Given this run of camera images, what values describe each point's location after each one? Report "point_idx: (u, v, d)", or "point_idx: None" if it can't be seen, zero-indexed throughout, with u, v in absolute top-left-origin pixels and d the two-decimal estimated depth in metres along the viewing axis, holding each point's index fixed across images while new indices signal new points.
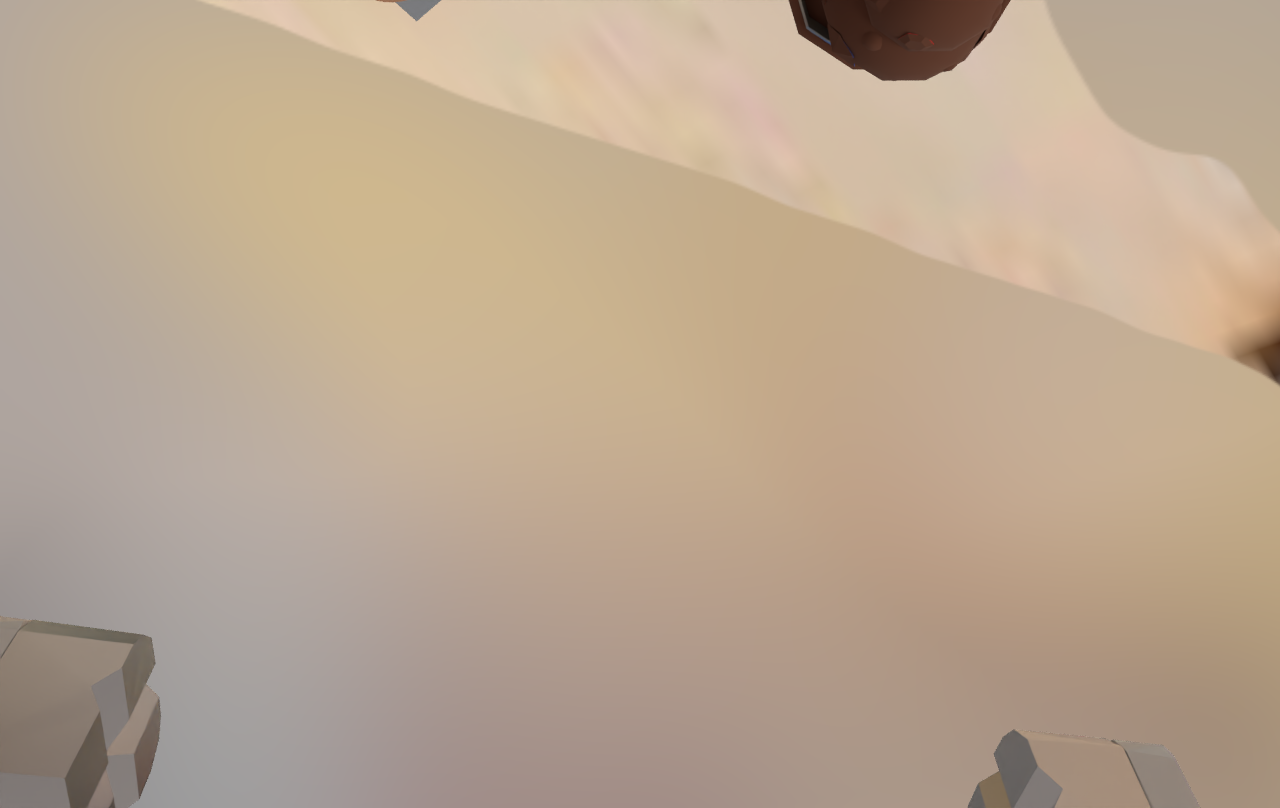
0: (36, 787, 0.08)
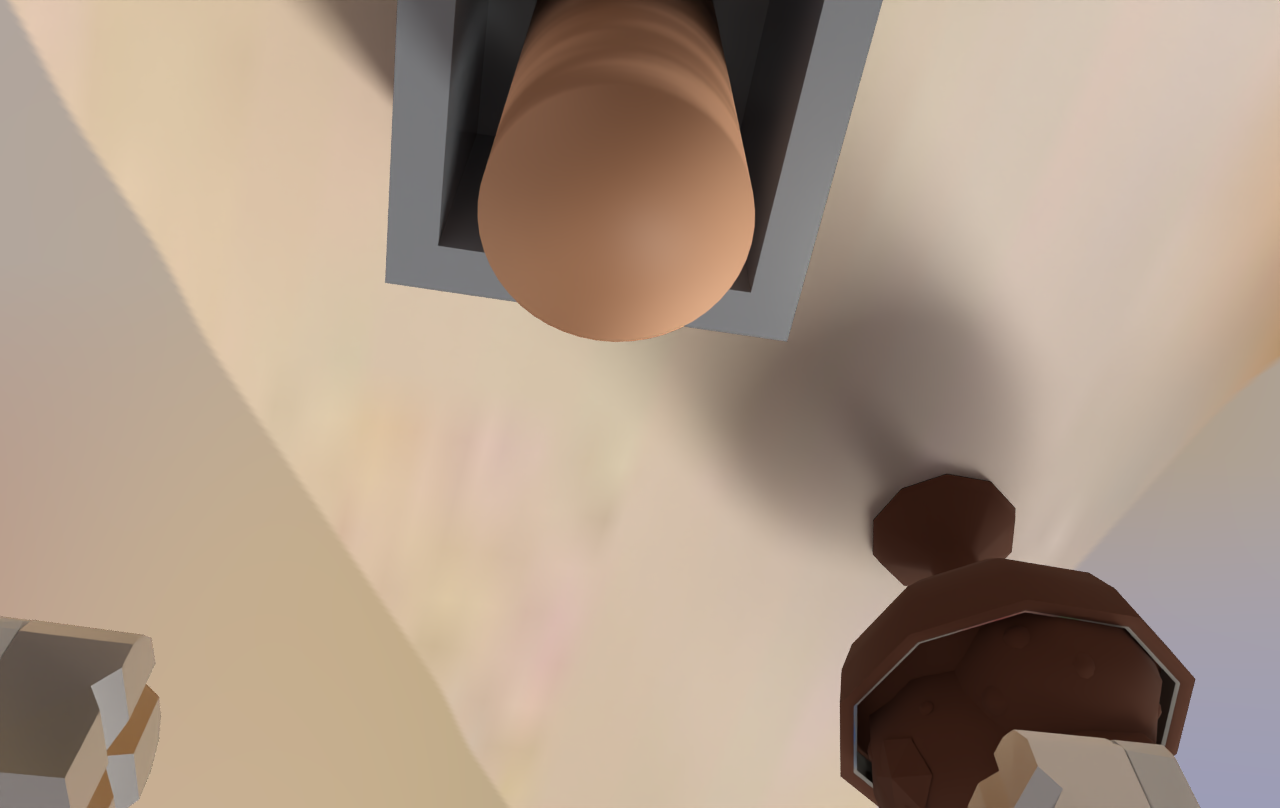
0: (34, 787, 0.08)
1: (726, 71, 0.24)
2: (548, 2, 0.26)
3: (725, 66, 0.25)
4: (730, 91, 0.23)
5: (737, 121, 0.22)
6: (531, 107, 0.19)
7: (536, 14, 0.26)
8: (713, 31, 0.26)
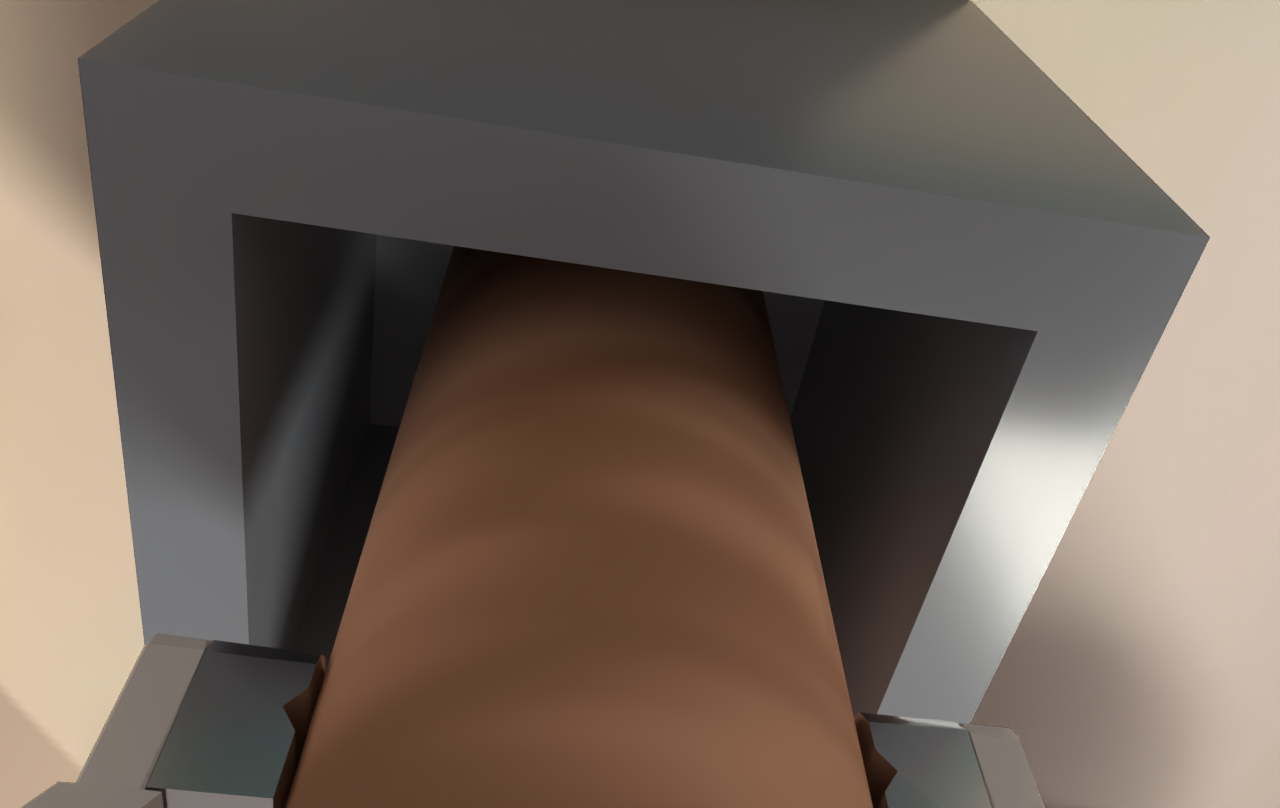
0: (244, 806, 0.08)
1: (803, 491, 0.12)
2: (455, 319, 0.14)
3: (798, 471, 0.12)
4: (821, 579, 0.11)
5: (848, 700, 0.10)
6: None
7: (436, 328, 0.14)
8: (769, 377, 0.13)
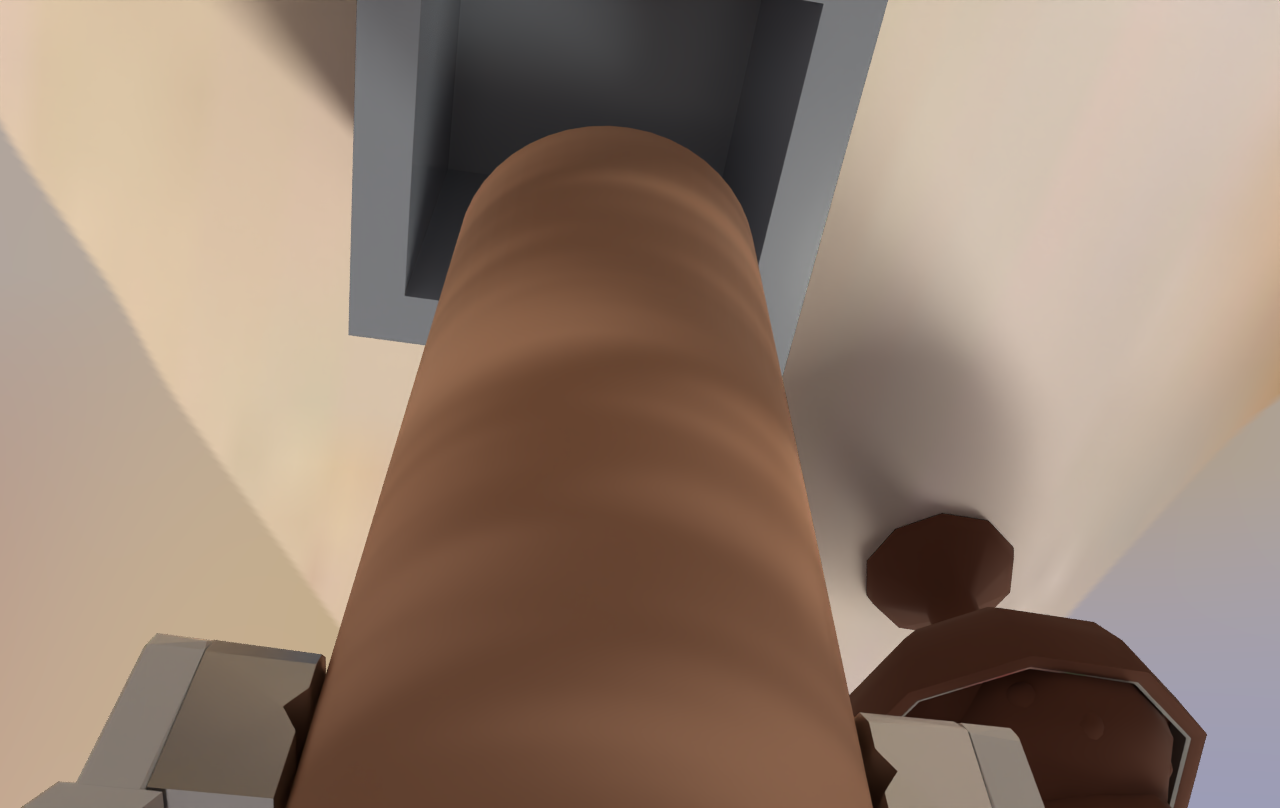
0: (244, 806, 0.08)
1: (803, 490, 0.12)
2: (456, 318, 0.14)
3: (799, 470, 0.12)
4: (821, 578, 0.11)
5: (848, 699, 0.10)
6: None
7: (437, 327, 0.14)
8: (770, 376, 0.13)
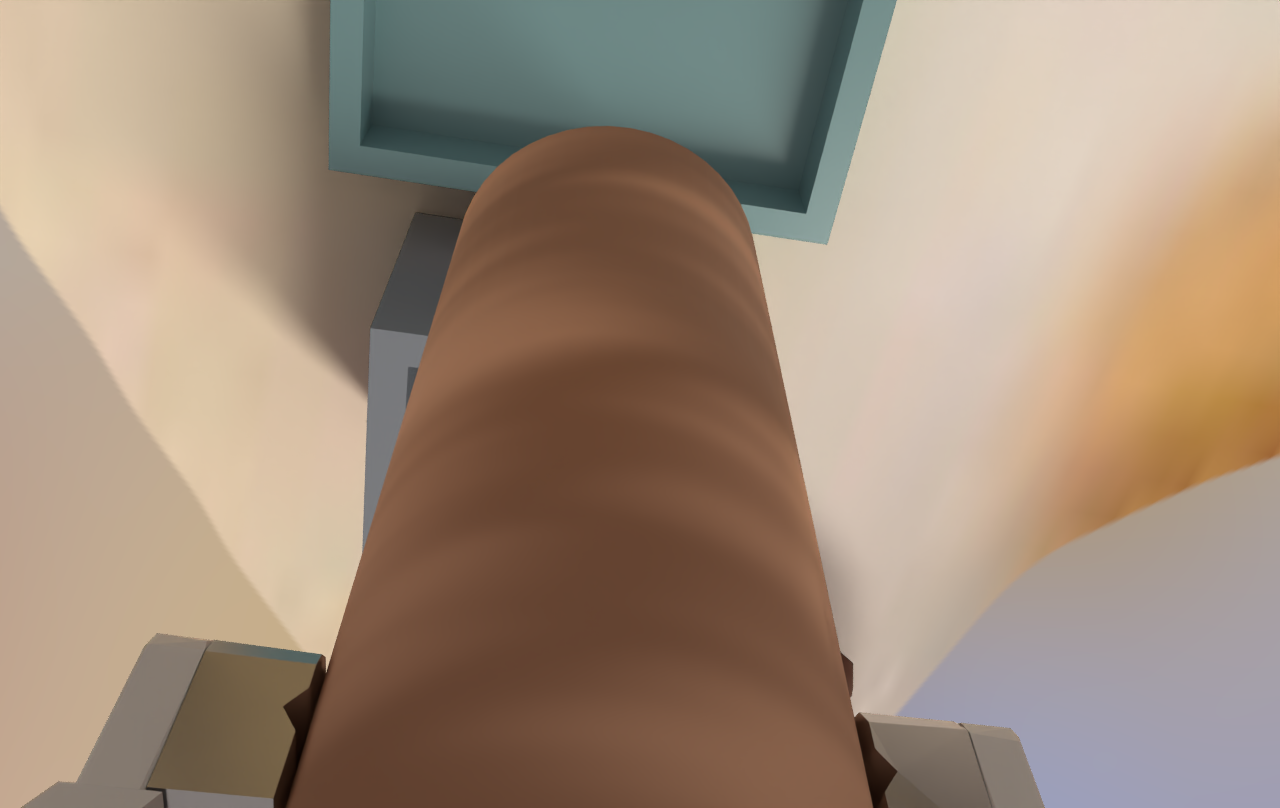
0: (244, 807, 0.08)
1: (804, 492, 0.12)
2: (456, 319, 0.14)
3: (799, 472, 0.12)
4: (822, 580, 0.11)
5: (849, 701, 0.10)
6: None
7: (437, 328, 0.14)
8: (771, 378, 0.13)
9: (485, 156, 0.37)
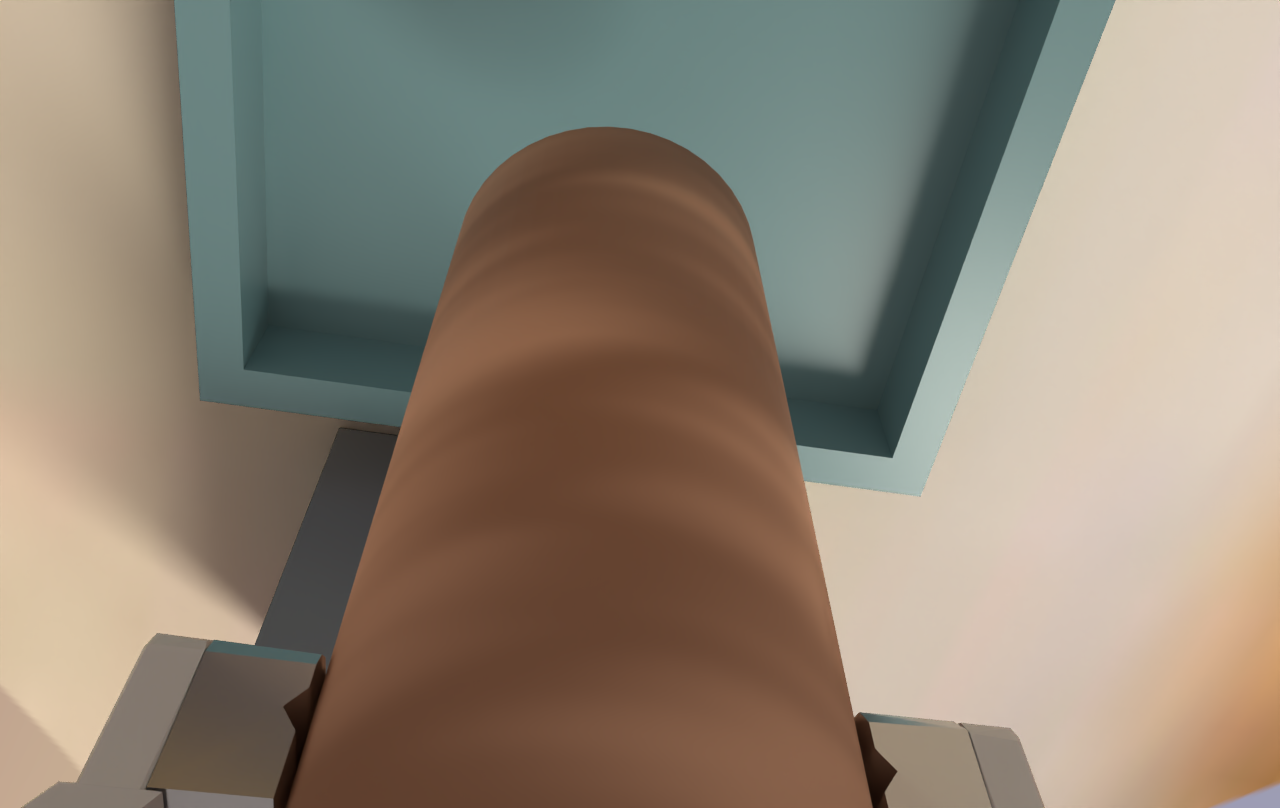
0: (243, 806, 0.08)
1: (804, 492, 0.12)
2: (456, 319, 0.14)
3: (799, 472, 0.12)
4: (822, 580, 0.11)
5: (849, 702, 0.10)
6: None
7: (437, 328, 0.14)
8: (771, 378, 0.13)
9: None
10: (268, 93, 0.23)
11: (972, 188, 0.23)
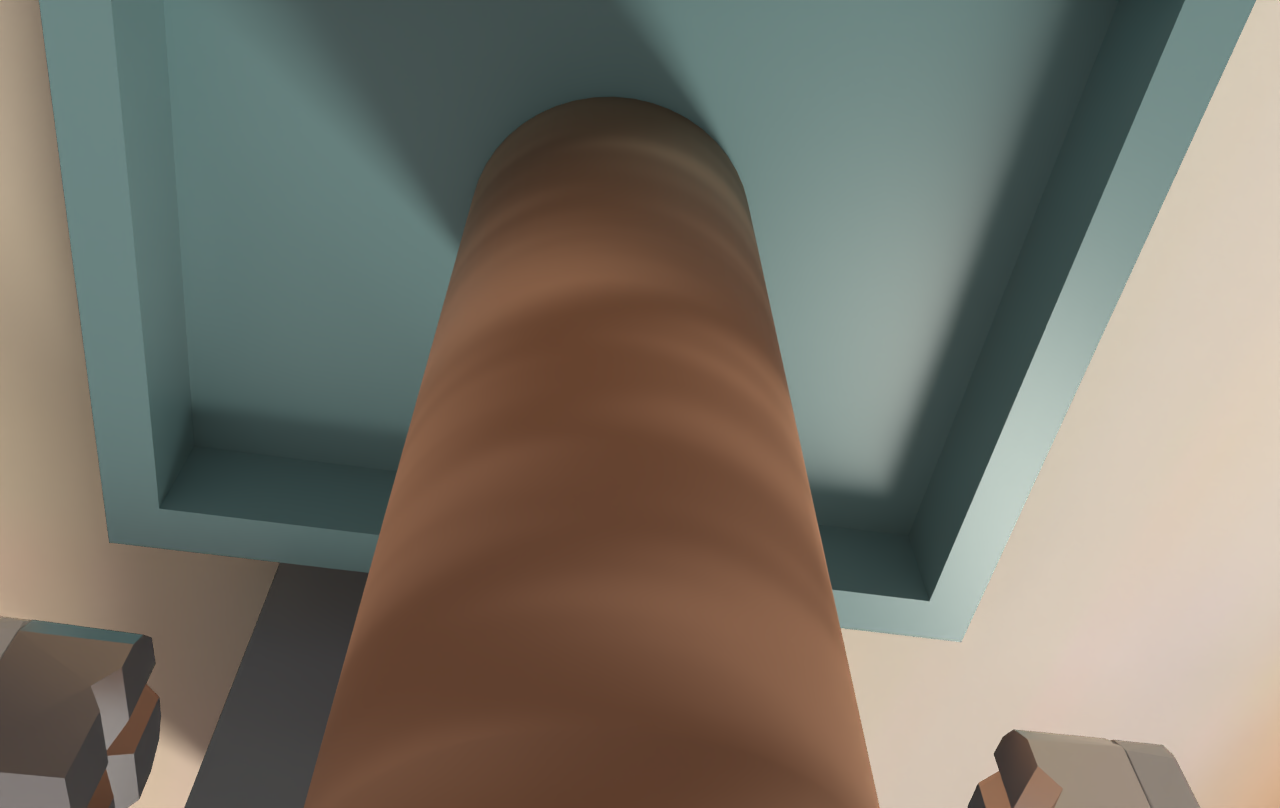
0: (36, 787, 0.08)
1: (793, 423, 0.13)
2: (475, 270, 0.15)
3: (790, 406, 0.14)
4: (809, 497, 0.12)
5: (832, 597, 0.11)
6: (389, 745, 0.08)
7: (457, 280, 0.15)
8: (764, 323, 0.15)
9: (384, 511, 0.22)
10: (182, 185, 0.19)
11: (1030, 296, 0.19)
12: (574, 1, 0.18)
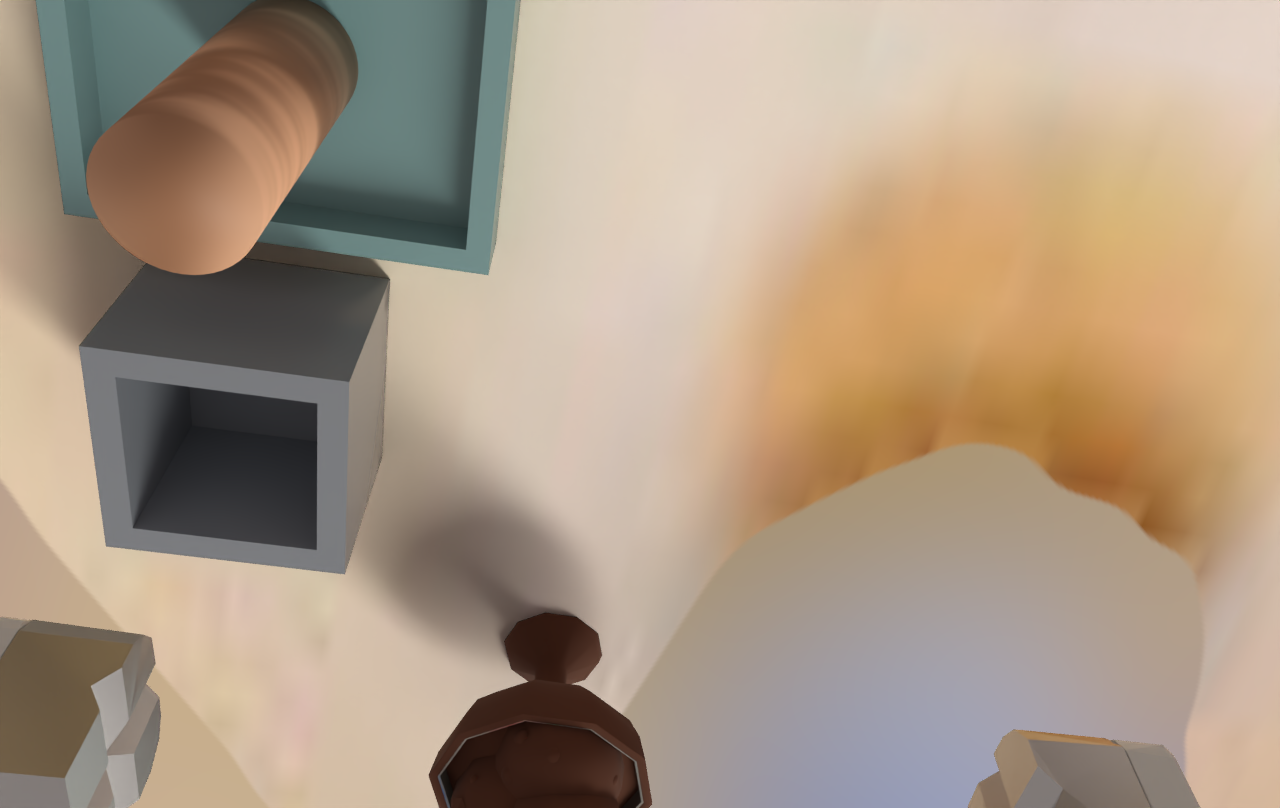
0: (36, 787, 0.08)
1: (300, 99, 0.37)
2: None
3: (303, 95, 0.37)
4: (288, 113, 0.35)
5: (278, 134, 0.34)
6: (109, 128, 0.31)
7: None
8: (305, 71, 0.38)
9: None
10: (95, 37, 0.42)
11: None
12: None
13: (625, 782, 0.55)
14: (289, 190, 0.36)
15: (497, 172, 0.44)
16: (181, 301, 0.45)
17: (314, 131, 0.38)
